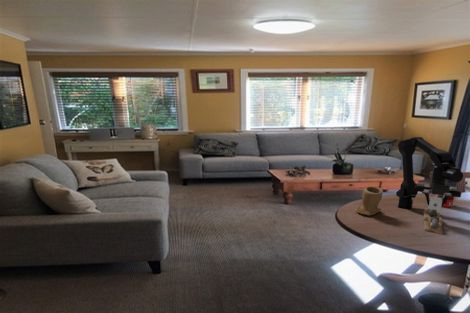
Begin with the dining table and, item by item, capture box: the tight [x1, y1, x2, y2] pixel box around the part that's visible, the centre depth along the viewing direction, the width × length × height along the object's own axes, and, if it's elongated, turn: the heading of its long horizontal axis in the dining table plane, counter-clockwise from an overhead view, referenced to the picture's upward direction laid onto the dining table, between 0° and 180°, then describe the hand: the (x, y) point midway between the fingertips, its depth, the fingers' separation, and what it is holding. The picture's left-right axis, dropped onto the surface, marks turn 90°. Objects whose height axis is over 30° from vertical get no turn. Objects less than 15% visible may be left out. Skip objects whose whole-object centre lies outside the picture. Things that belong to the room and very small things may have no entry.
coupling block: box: [427, 196, 442, 211], centre depth 143 cm, size 6×5×5 cm
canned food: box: [437, 186, 455, 209], centre depth 166 cm, size 8×8×11 cm
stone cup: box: [355, 185, 383, 216], centre depth 156 cm, size 15×12×15 cm
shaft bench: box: [423, 207, 444, 235], centre depth 145 cm, size 8×27×5 cm, turn 148°
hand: (434, 206), depth 144 cm, fingers closed on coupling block, 5 cm apart
